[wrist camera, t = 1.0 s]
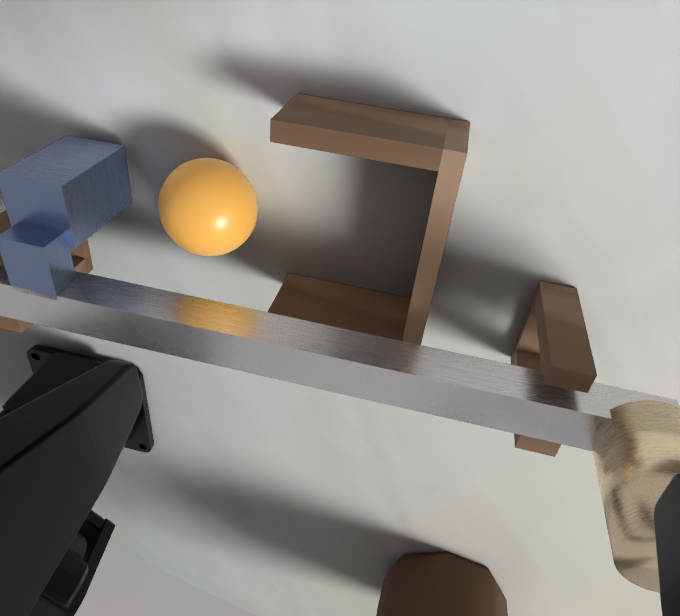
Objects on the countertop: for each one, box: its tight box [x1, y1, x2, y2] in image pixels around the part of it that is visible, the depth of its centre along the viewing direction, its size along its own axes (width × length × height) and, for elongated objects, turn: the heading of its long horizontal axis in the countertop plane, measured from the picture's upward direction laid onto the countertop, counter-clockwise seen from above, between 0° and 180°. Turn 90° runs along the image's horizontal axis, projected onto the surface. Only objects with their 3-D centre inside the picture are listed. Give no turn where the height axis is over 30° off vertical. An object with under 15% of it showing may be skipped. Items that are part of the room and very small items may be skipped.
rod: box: [0, 135, 680, 592], centre depth 19 cm, size 6×32×9 cm, turn 85°
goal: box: [268, 94, 470, 345], centre depth 20 cm, size 8×6×3 cm
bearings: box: [0, 210, 597, 457], centre depth 22 cm, size 4×22×5 cm, turn 85°
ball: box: [158, 158, 258, 256], centre depth 21 cm, size 4×4×4 cm
